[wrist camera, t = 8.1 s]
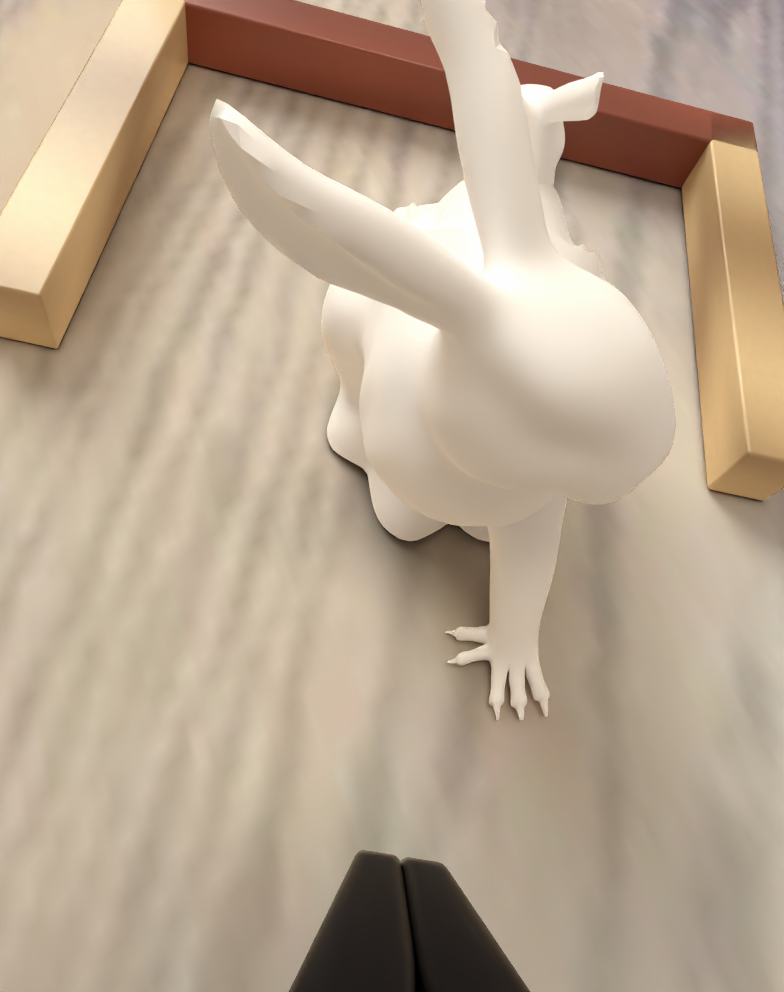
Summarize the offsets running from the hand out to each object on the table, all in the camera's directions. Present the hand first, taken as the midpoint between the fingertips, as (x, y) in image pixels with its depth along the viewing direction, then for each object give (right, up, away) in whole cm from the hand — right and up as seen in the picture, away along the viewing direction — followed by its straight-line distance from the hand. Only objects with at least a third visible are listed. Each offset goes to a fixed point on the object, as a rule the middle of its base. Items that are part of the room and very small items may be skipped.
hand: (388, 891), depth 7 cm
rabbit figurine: (0, +5, +11) cm, 12 cm away
